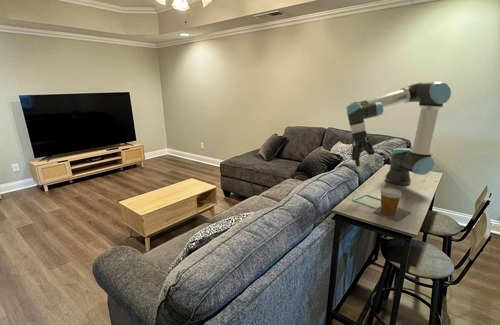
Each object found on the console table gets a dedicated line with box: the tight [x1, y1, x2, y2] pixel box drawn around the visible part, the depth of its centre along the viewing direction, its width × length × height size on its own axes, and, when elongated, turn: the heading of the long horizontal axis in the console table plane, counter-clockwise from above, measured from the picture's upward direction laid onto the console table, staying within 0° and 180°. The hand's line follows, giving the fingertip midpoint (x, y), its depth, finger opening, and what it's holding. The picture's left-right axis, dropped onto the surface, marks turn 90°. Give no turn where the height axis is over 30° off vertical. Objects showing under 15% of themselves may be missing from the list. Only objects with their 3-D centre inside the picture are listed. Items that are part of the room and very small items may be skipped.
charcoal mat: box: [372, 207, 412, 223], centre depth 134 cm, size 15×12×1 cm
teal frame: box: [351, 193, 381, 210], centre depth 148 cm, size 14×14×1 cm
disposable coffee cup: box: [380, 187, 403, 216], centre depth 131 cm, size 10×10×12 cm
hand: (366, 168), depth 148 cm, fingers open, 13 cm apart
